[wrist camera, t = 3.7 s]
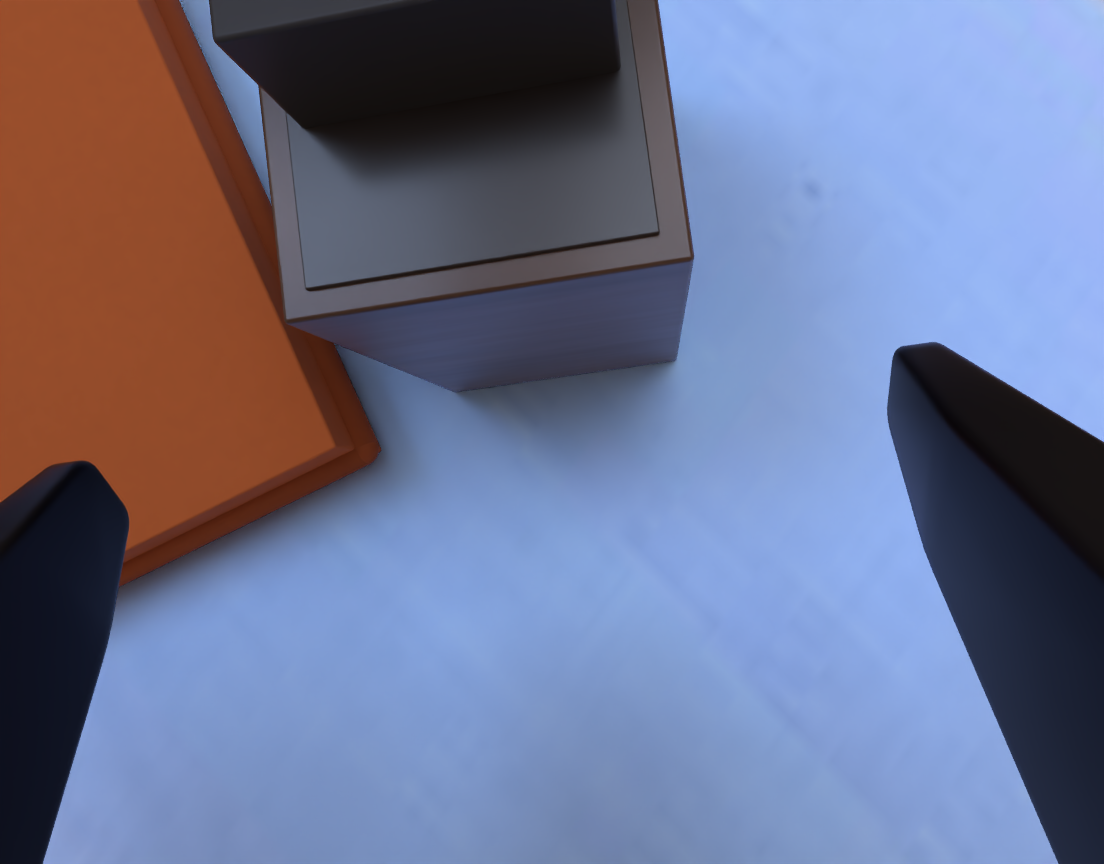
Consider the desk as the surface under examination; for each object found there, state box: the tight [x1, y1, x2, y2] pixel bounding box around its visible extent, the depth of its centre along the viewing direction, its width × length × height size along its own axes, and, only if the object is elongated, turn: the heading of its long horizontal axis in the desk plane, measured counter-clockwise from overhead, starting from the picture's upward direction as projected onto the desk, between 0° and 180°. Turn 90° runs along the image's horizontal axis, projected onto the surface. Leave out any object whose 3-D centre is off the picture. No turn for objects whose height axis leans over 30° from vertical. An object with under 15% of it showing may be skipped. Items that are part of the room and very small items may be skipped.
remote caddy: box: [209, 0, 694, 392], centre depth 15 cm, size 7×6×12 cm
